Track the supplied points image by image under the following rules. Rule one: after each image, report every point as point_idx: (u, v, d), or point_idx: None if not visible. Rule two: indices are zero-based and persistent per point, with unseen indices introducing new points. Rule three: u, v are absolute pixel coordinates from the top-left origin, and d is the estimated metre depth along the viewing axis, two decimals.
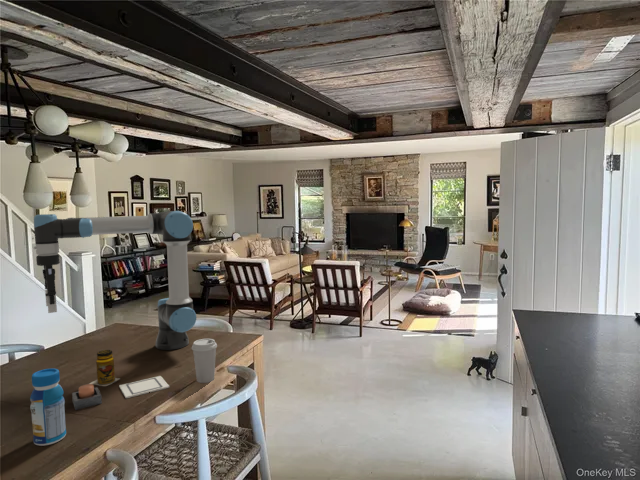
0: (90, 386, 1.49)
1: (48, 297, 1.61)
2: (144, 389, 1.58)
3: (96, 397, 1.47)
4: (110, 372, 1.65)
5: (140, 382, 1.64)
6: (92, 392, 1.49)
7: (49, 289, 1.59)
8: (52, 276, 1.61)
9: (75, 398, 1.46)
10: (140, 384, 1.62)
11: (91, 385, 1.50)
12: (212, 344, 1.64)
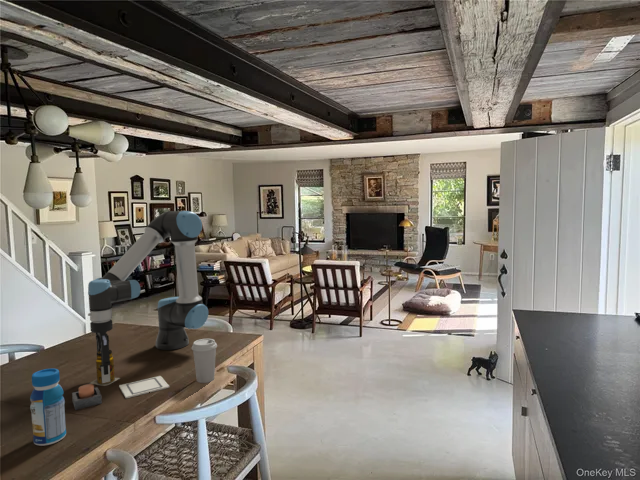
0: (90, 386, 1.49)
1: (102, 367, 1.62)
2: (144, 389, 1.58)
3: (96, 397, 1.47)
4: (110, 371, 1.65)
5: (140, 382, 1.64)
6: (92, 392, 1.49)
7: (104, 361, 1.60)
8: (107, 347, 1.61)
9: (75, 398, 1.46)
10: (140, 384, 1.62)
11: (91, 385, 1.50)
12: (212, 344, 1.64)
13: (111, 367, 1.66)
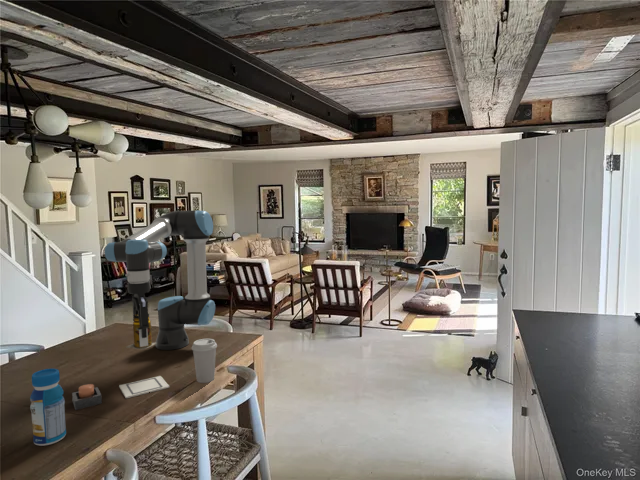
0: (90, 386, 1.49)
1: (140, 330, 1.56)
2: (144, 389, 1.58)
3: (96, 397, 1.47)
4: None
5: (140, 382, 1.64)
6: (92, 392, 1.49)
7: (143, 323, 1.53)
8: (146, 309, 1.54)
9: (75, 398, 1.46)
10: (140, 384, 1.62)
11: (91, 385, 1.50)
12: (212, 344, 1.64)
13: (148, 330, 1.59)
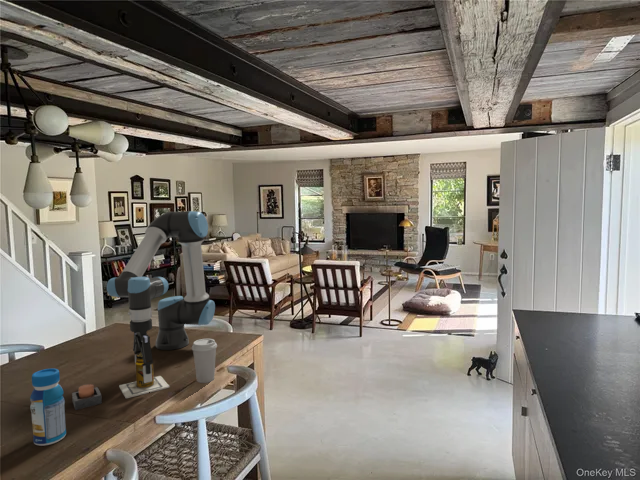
0: (90, 386, 1.49)
1: (144, 367, 1.54)
2: None
3: (96, 397, 1.47)
4: None
5: None
6: (92, 392, 1.49)
7: (146, 359, 1.52)
8: (148, 344, 1.54)
9: (75, 398, 1.46)
10: None
11: (91, 385, 1.50)
12: (212, 344, 1.64)
13: None
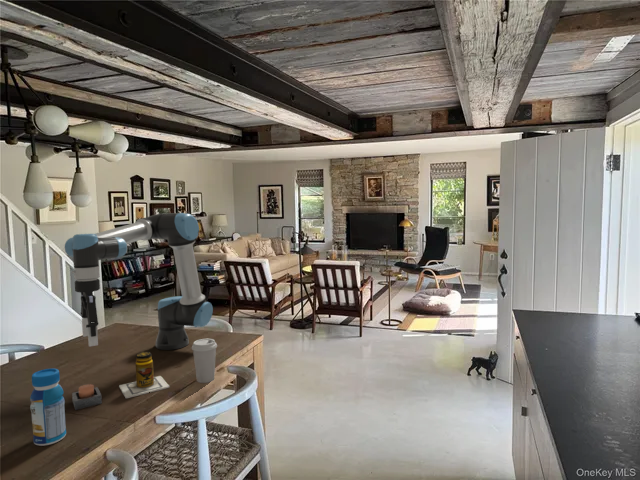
0: (90, 386, 1.49)
1: (89, 328, 1.42)
2: None
3: (96, 397, 1.47)
4: (149, 374, 1.59)
5: None
6: (92, 392, 1.49)
7: (91, 320, 1.40)
8: (93, 304, 1.42)
9: (75, 398, 1.46)
10: None
11: (91, 385, 1.50)
12: (212, 344, 1.64)
13: (151, 370, 1.60)
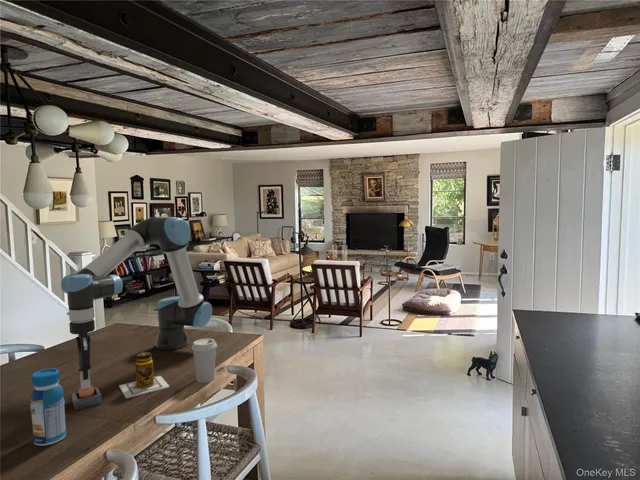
0: (90, 387, 1.49)
1: (81, 372, 1.47)
2: None
3: (96, 397, 1.47)
4: (149, 374, 1.59)
5: None
6: (92, 393, 1.49)
7: (83, 366, 1.45)
8: (87, 352, 1.44)
9: (75, 398, 1.46)
10: None
11: (91, 386, 1.50)
12: (212, 344, 1.64)
13: (151, 370, 1.60)
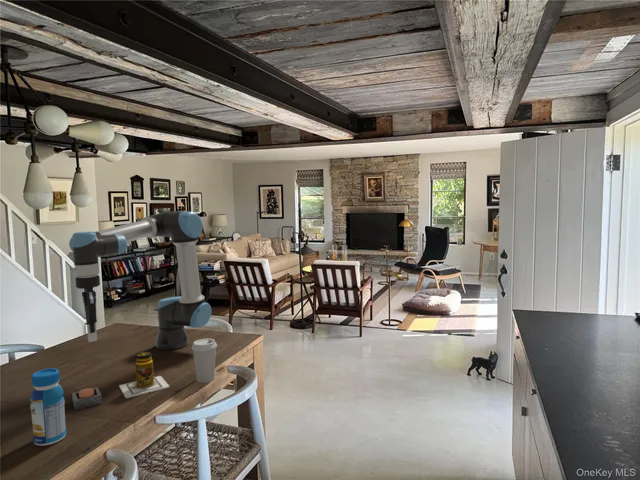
0: (90, 390, 1.49)
1: (88, 325, 1.53)
2: None
3: (96, 397, 1.47)
4: (149, 374, 1.59)
5: None
6: None
7: (90, 319, 1.50)
8: (94, 305, 1.50)
9: (75, 398, 1.46)
10: None
11: (92, 388, 1.50)
12: (212, 344, 1.64)
13: (151, 370, 1.60)
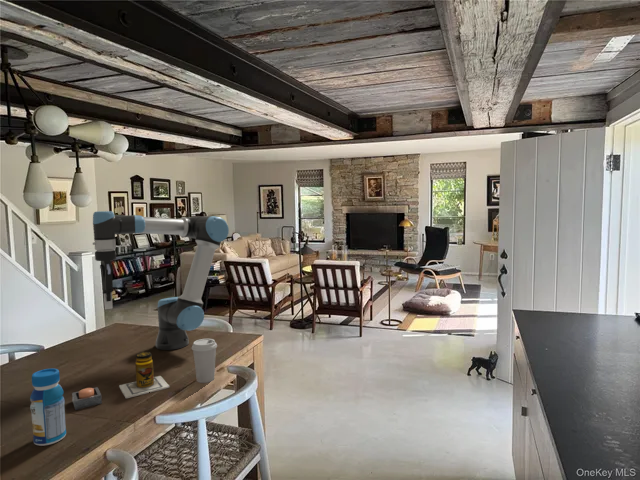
0: (90, 390, 1.49)
1: (105, 294, 1.72)
2: None
3: (96, 397, 1.47)
4: (149, 374, 1.59)
5: None
6: None
7: (107, 288, 1.69)
8: (110, 276, 1.69)
9: (75, 398, 1.46)
10: None
11: (92, 388, 1.50)
12: (212, 344, 1.64)
13: (151, 370, 1.60)
